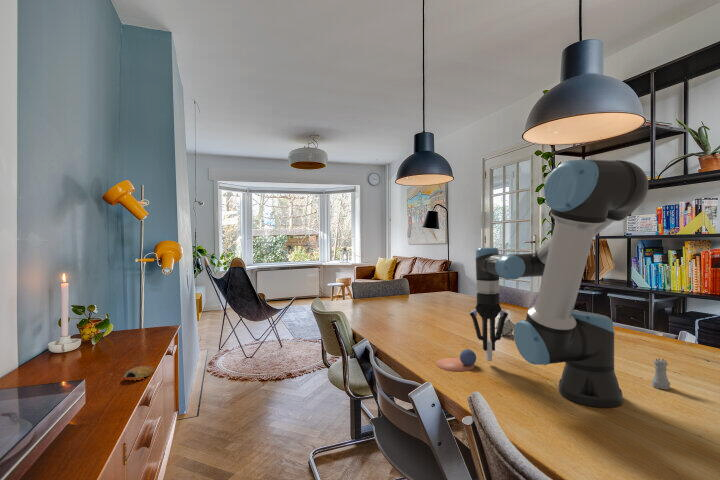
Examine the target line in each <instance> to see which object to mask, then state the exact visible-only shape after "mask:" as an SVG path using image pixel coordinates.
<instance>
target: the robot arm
mask: <svg viewBox="0 0 720 480" xmlns="http://www.w3.org/2000/svg"><path fill="white" fill-rule="evenodd" d="M544 185H545V186H544V191H543V194H544V197H545V200H544V201H545V203H546V204H547V206H548V207H549V208H550V209H551V210H550V215H551V216H552V218H553V219H554V221H555V222H554V227H553V230H552V235H551V237H550V238H549V239H547V240H546V242H545V243H543V244H542V245H541V246H540V247H539V248H538V249H537V250H536V251H535V252H533V253H517V254H515V253H514V254H512V253H511V254H500V251H499V249H498V247H478V248H477V249H476V251H475V272H476V273H475V274H476V275H475V276H476V278H475V279H476V291H477V292H476V305H475V309H473V310H470V311H469V312H468V314H469V316H470V317H471V319H472V323H473V326H474V330H475V333H476V337H477V339H478V340H479V341H482V349H483V350H484V351H485V358H486V361H487V362H493V352H494V351H496V342H497V341H501V339H502V336H503V335H502V331H503V326H504V322H505V319H506V318H507V317H509V313H508V312H507V311H505V310H503V309H502V307H501V302H500V293H499V292H500V279H501V278H502V279H505V280H518V279H519V278H532V277H533V278H534V277H536V278H537V277H541V282H540V285H539V291H538V295H537V297H536V303H535V305H533V306H530V307H529V308H528V310H527V313H526V318H525V319H521V320H520V321H517V322H516V323H515V324H514V325H515V326H514V329H513V341H514V344H515V346H516V349H517V351H518V353H519V354H520V356H521V357H522V358H523V360H525V361H526V362H527V363H529V364H531V365H535V366H538V365H539V366H540V365H543V366H547V365H551V364H552V365H553V364H559V363H560V364H561V363H564V367H563V371H562V374H561V378H560V379H559V381H558V392H559V394H560V395H561V396H562V397H564V398H566V399H567V400H569V401H572V402H574V403H577V404H581V405H584V406H587V407H594V408H595V407H596V408H616V407H620V406H621V405H622V404H623V403H622V402H623V401H624V399H623V392H622V389H621V387H620V385H619V381H618V378H617V375H616V372H615V335H616V333H615V330H614V321H613V319H611V318H610V317H609V316H607V315H603V314H600V313H596V312H595V313H594V312H588V311H584V310H583V311H582V310H574V308H575V306H576V301H577V298H578V294H579V290H580V287H581V284H582V283H581V282H582V279H583V277H584V272H585V269H586V265H587V261H588V257H589V254H590V250H591V247H592V244H593V239H594V238H595V237H596V236H597V235H598V234H599V233H601V232H602V231H603V230H605V229H606V228H607V227H609V226H610V225H611V224H612V223H613V222H620V221H623V220H624V219H626V218H627V217H629V215H631V214H632V213H634V211H636V210H637V209H638V208H639V207H640V205H642V203H643V202H644V200H645V198H646V197H647V194H648V191H649V179H648V176H647V175H646V173H645V171H644V170H643V169H642V168H641V167H640V166H638V165H637V164H635V163H633V162H630V161H627V160H621V159H620V160H619V159H617V160H616V159H615V160H607V159H606V160H605V159H602V160H601V159H589V158H588V159H585V158H584V159H583V158H581V159H573V160H572V159H570V160H567V161H564V162H561V163H560V164H559V165H558V166H556V167H554V168H553V170H552V171H551V172H550V174H549V175H548V177H547V178H546V181H545V184H544ZM478 315H479V316H480V318H481V323H482V324H481V325H482V326H481V329H482V330H481V329H480V325H479V321H478V318H477V316H478ZM497 316H499V317H498V318H499V319H498V321H499V323H498V322H497V323H498V327H497V329H495V328H496V318H497ZM488 320H489V339H488Z"/></svg>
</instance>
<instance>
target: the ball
mask: <svg viewBox="0 0 720 480" xmlns="http://www.w3.org/2000/svg"><path fill="white" fill-rule="evenodd" d="M459 358H460V360H461V362H462V363H463V364H464V365H467V366H471V365H473V364H474V365H475V363H476V361H477V354H476V353H475V351H473V350H471V349H470V348H469V349H468V348H467V349H463V350H462V351H461V352H460V354H459Z"/></svg>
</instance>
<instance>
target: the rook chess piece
mask: <svg viewBox="0 0 720 480" xmlns="http://www.w3.org/2000/svg"><path fill="white" fill-rule="evenodd" d="M653 363H654V365H655V366H654V369H655V371H654V376H653V378H652V379H651V386H652V387H653V386H654V387H653V388H655V387H656V388H655V389H657V388H661V389H660V390H662V389H669V390H671V382H670V381H669V379H668V375H667V370H668V369H667V366H668V365H669V364H668V363H667V359H663V358H659V357H658V358H655V359H654V361H653Z"/></svg>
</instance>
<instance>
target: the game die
mask: <svg viewBox="0 0 720 480" xmlns="http://www.w3.org/2000/svg"><path fill="white" fill-rule="evenodd" d="M499 318H500V317H498V318H497V319H498V321H497V323H496V325H495V330H497V327H498V323H499ZM514 326H515V324H514V323H513V322H512V321H511V319H510V318H509V316H507V317H506V319H505V322H504V326H503V331H502V335H501V336H502V337H504V336H507V335H511V337H514V334H513V333H514Z"/></svg>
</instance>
